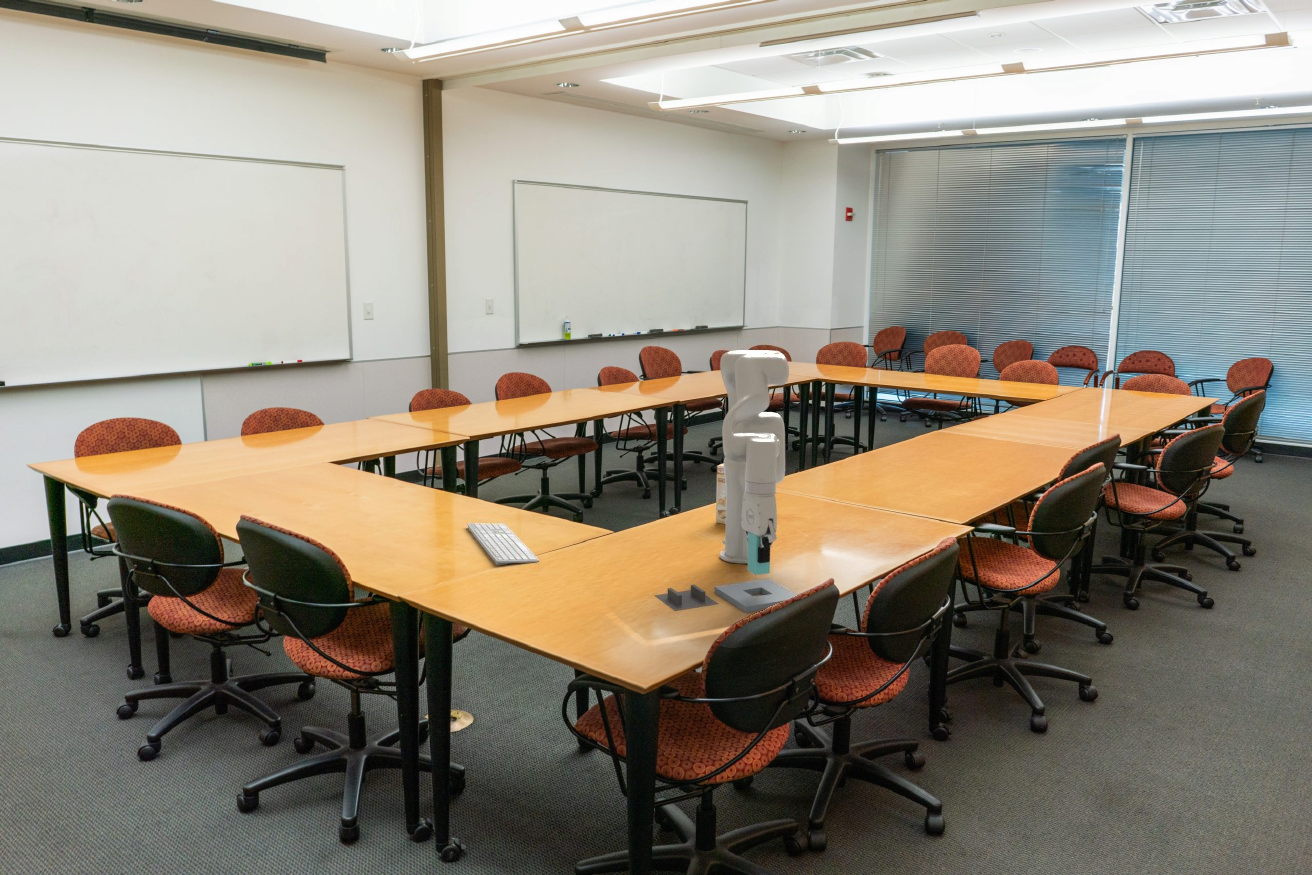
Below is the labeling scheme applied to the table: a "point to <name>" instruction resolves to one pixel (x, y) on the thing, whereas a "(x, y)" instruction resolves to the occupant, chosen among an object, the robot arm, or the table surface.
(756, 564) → the plug
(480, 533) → the keyboard
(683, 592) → the dark grey holder stand
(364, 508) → the table surface
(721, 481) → the coffeecake box
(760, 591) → the plate
